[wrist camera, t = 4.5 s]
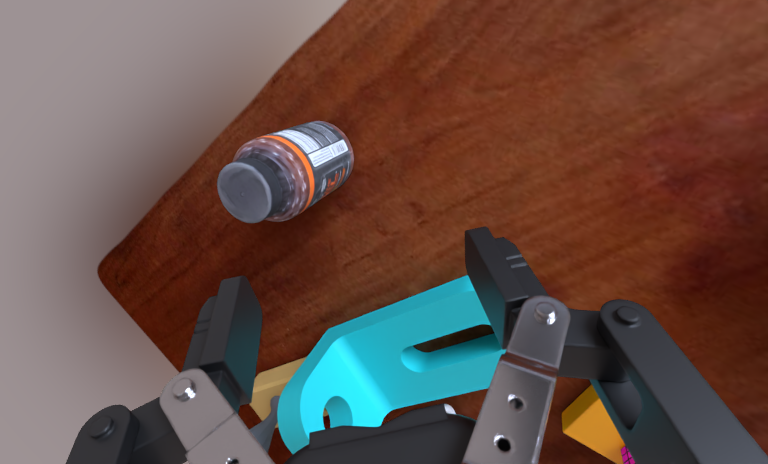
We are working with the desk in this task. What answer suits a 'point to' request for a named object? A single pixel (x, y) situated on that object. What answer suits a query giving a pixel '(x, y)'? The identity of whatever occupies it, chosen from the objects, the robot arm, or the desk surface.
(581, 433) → the orange block
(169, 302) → the desk surface
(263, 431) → the rubber stamp
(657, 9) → the desk surface
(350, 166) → the supplement bottle
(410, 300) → the bracket
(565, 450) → the desk surface
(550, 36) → the desk surface
